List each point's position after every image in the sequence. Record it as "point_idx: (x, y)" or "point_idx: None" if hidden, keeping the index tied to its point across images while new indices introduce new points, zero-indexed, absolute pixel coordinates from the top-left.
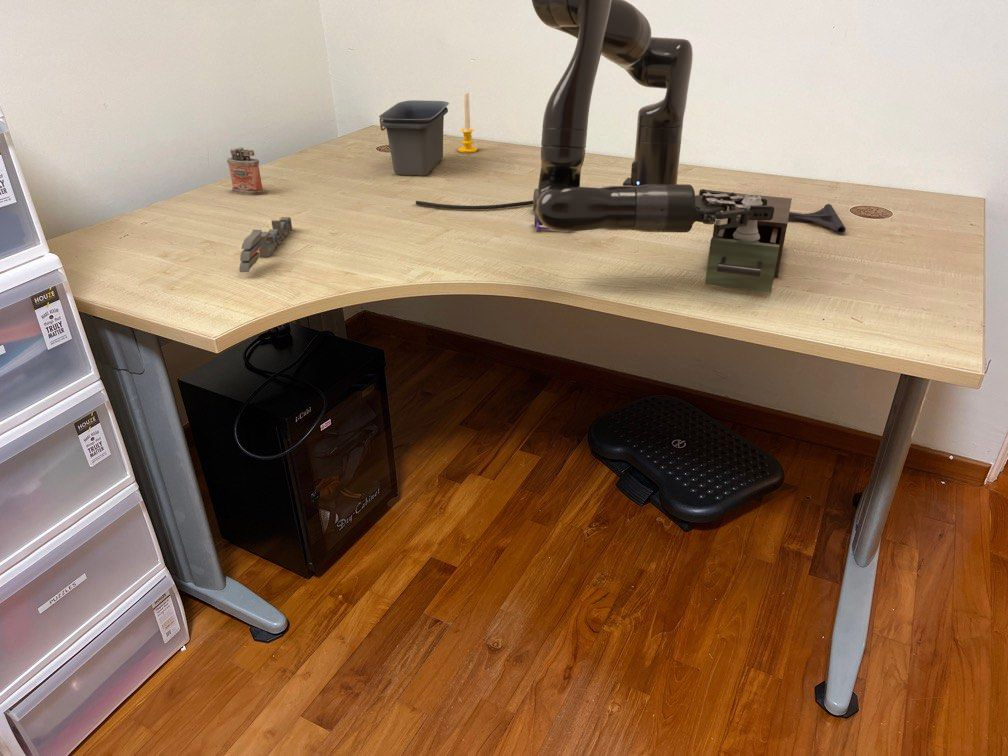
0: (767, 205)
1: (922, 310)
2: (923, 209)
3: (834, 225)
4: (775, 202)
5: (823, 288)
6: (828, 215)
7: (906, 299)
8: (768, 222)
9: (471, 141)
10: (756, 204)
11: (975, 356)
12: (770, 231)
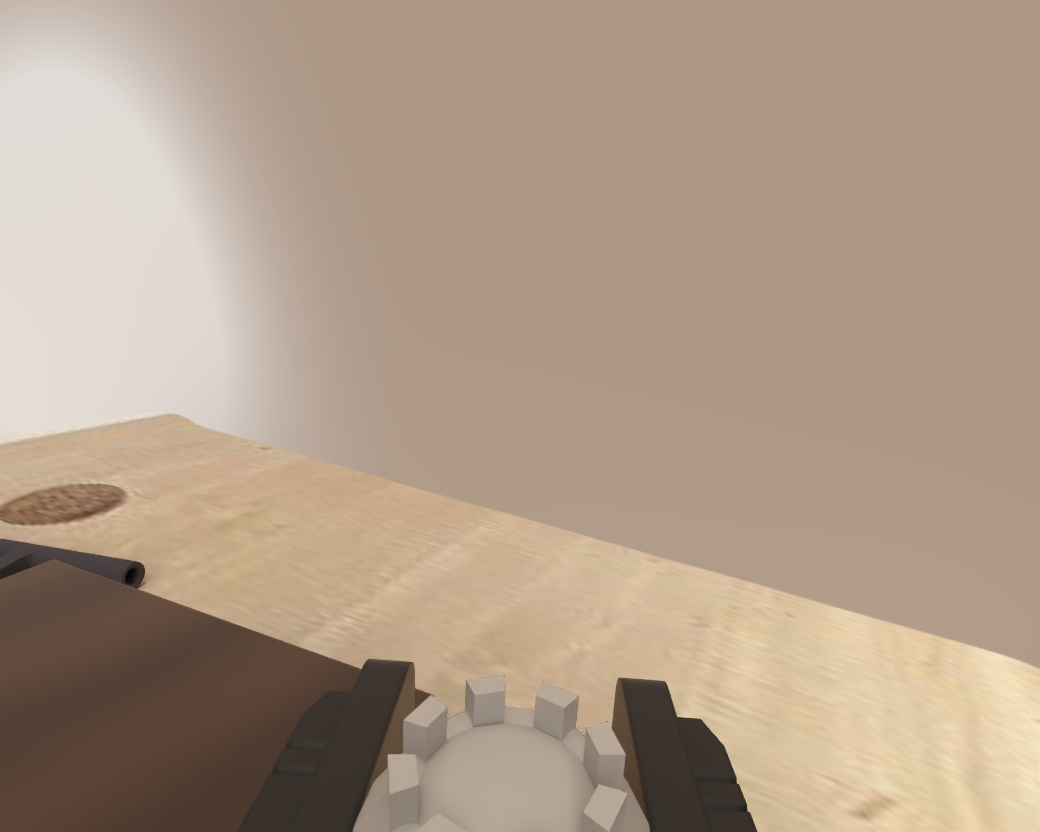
0: (626, 707)
1: (708, 629)
2: (142, 456)
3: None
4: (30, 628)
5: None
6: (18, 558)
7: (640, 630)
8: None
9: None
10: (635, 805)
11: (959, 642)
12: None
